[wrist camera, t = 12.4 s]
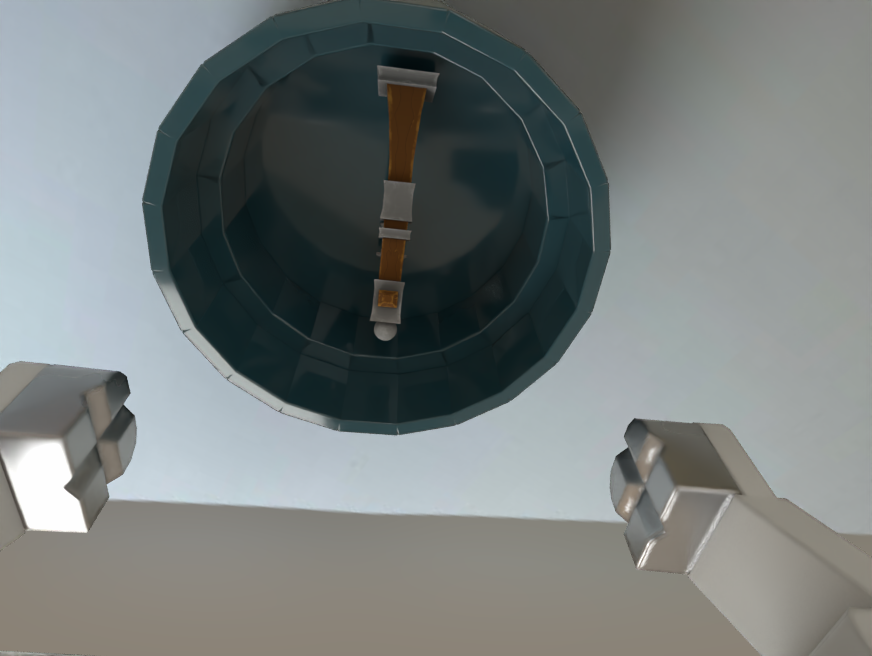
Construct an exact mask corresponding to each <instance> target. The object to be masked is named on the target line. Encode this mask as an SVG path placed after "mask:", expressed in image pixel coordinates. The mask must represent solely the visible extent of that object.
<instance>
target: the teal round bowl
mask: <svg viewBox="0 0 872 656" xmlns="http://www.w3.org/2000/svg"><path fill="white" fill-rule="evenodd" d="M377 65H378V66H386V67H393V68H401V69H409V70H416V71H424V72H432V73H440V74H439V77H438V81H437V84H436V86H437V88H436V91H435V94H434V98H433V101H432V102H425V101H424V103H423V108H422V112H421V118H420V124H419V130H418V136H417V142H416V148H415V154H414V161H413V171H412V182H411V183H415V188H414V192H413V202H412V223H408V227H407V230H409V231H411V233H410V240H409V241H406V242H405V250H404V255H407V256H406V258H404V259H403V266H402V274H401V282H405V285H404V288H403V294H402V303H401V313H400V322H401V324H396V323H395V324H396V326H397V332H396V335H395V336H394V337H393V338H392V339H391V340H388V341H384V340H381V339H379V338H378V337H377V336H376V335H375V332H374V326H375V324H376V322H377V321H370V318H371V314H372V307H373V297H374V288H375V287H374V279H378V280H379V271H380V261H381V257H379V256H378V255H376V253H377V252H380V253H381V249H382V238H379V237H378V236H379V233H380V230H379V227H380V228H382V227H381V223H384V221H383V220H380V217H381V213H382V209H383V199H384V180H387V181H388V174H389V112H388V100H387V97H385V96H379V95H378V71H377ZM142 201H143V203H142V206H143V213H144V220H145V227H146V235H147V242H148V249H149V256H150V263H151V270H152V271H153V275H154V277H155V279H156V281H157V283H158V285H159V287H160V289H161V291H162V293H163V295H164V297H165V299H166V301H167V303H168V305H169V307H170V309H171V311H172V313H173V315H174V317H175V319H176V321H177V323H178V326H179V328H180V330H181V331H183V334H184V335H185V336H186V337H187V338H188V339H189V340H190V341H191V342H192V343H193V345H194V346H195V347H196V348H197V349H198V350H199V351H200V352H201V353H202V354H203V355H204V356H205V357H206V358H207V359H208V361H209V362H210V363H211V364H212V365H213V366H214V367H215V368H216V369H217V370H218V371H219V372H220V373H221V374H222V376H223V377H224V378H227V380H228V381H230V382H231V383H233V384H234V385H236V386H238V387H239V388H241V389H242V390H244V391H246V392H247V393H249V394H251V395H252V396H254V397H255V398H257V399H259V400H260V401H262V402H263V403H265V404H267V405H268V406H270V407H271V408H273V409H275V410H276V411H278V412H279V411H280V413H283V414H286V415H289V416H292V417H295V418H298V419H301V420H305V421H308V422H311V423H314V424H317V425H320V426H323V427H327V428H330V429H333V430H336V431H337V430H338V431H342V432H356V433H370V434H385V435H402V434H408V433H414V432H420V431H426V430H432V429H438V428H443V427H449V426H455V425H456V424H457V425H458V424H460V423H463V422H465V421H467V420H469V419H472V418H474V417H476V416H478V415H481V414H483V413H485V412H487V411H490V410H492V409H494V408H497V407H499V406H501V405H503V404H506V403H508V402H509V401H510V400H513V399H514V398H515V397H516V396H518V395H519V394H520V393H521V392H523V391H524V390H525V389H526V388H528V387H529V386H530V385H531V384H532V383H534V382H535V381H536V380H537V379H539V378H540V377H541V376H542V375H544V374H545V373H546V372H547V371H549V370H550V369H551V368H552V367H553V366H555V365H556V363H558V362H559V360H560V359H561V357H562V356H563V354H564V353H565V351H566V350H567V349H568V347H569V346H570V344H571V343H572V341H573V340H574V338H575V337H576V336H577V334H578V333H579V331H580V330H581V328H582V327H583V325H584V324H585V323H586V321H587V320H588V318H589V317H590V315H591V312H592V311H593V308H594V305H595V301H596V298H597V295H598V292H599V288H600V285H601V282H602V278H603V275H604V272H605V269H606V265H607V262H608V259H609V255H610V250H611V236H610V207H609V183H608V179H607V176H606V174H605V171H604V169H603V166H602V164H601V161H600V158H599V156H598V153H597V151H596V148H595V146H594V143H593V141H592V138H591V136H590V133H589V131H588V128H587V126H586V123H585V121H584V118H583V116H582V114H581V113H580V111H579V109H578V108H577V107H576V106H575V104H574V103H573V102H572V101H571V100H570V99H569V98H568V96H567V95H566V94H565V93H564V92H563V91H562V90H561V89H560V87H559V86H558V85H557V84H556V83H555V82H554V81H553V80H552V78H551V77H550V76H549V75H548V74H547V73H546V72H545V71H544V69H543V68H542V67H541V66H540V65H539V64H538V63H537V62H536V60H535V59H534V58H533V57H532V56H531V55H530V54H529V53H528V52H527V51H525V49H523V48H522V47H520V46H518V45H517V44H515V43H514V42H512V41H510V40H509V39H507V38H505V37H504V36H502V35H500V34H499V33H497V32H496V31H494V30H492V29H490V28H488V27H487V26H485V25H483V24H481V23H479V22H477V21H476V20H474V19H472V18H470V17H468V16H466V15H464V14H463V13H461V12H459V11H457V10H455V9H453V8H451V7H450V6H448V5H446V4H444V3H442V2H439V1H437V0H333V1H328V2H324V3H319V4H315V5H311V6H307V7H303V8H299V9H295V10H291V11H287V12H284V13H280V14H276V15H274V16H272V17H269V18H268V19H266V20H265V21H263V22H262V23H260V24H259V25H257V26H256V27H254V28H253V29H251V30H250V31H249V32H247V33H246V34H244V35H243V36H241V37H240V38H238V39H237V40H235V41H234V42H232V43H231V44H229V45H228V46H226V47H225V48H223V49H222V50H220V51H219V52H217V53H216V54H214V55H213V56H212V57H210V58H209V59H207V60H206V61H204V63H203V64H201V65H200V67H199V68H198V70H197V71H196V73H195V74H194V76H193V77H192V78H191V80H190V81H189V83H188V84H187V86H186V87H185V89H184V90H183V92H182V93H181V95H180V96H179V98H178V99H177V101H176V102H175V104H174V105H173V107H172V108H171V110H170V111H169V113H168V114H167V116H166V117H165V119H164V120H163V122H162V123H161V124H160V126H159V130H158V131H157V134H156V139H155V143H154V148H153V153H152V157H151V162H150V166H149V171H148V175H147V180H146V185H145V189H144V194H143V198H142Z"/></svg>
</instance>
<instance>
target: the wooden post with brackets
mask: <svg viewBox="0 0 872 656" xmlns="http://www.w3.org/2000/svg"><path fill="white" fill-rule="evenodd" d="M377 71H378V95H379V96H385V97H387V100H388V112H389V174H388V181H387V180H384V199H383V209H382V213H381V217H380V220H383V221H384V223H381V227H382V228H380V227H379V230H380V233H379V236H378V237H379V238H382V249H381V253H380V252H377V253H376V255H378V256H379V257H381V261H380V271H379V280H378V279H374V287H375V288H374V297H373V307H372V314H371V318H370V321H377V322H376V324H375V326H374V332H375V335H376V336H377V337H378V338H379V339H381V340H384V341H388V340H391V339H392V338H393V337H394V336H395V335H396V332H397V326H396V324H401V322H400V313H401V303H402V294H403V288H404V285H405V282H401V274H402V266H403V259H404V258H406V256H407V255H404V250H405V242H406V241H409V240H410V233H411V231H409V230H407V227H408V223H412V202H413V192H414V188H415V183H411V182H412V171H413V161H414V154H415V148H416V142H417V136H418V130H419V124H420V118H421V112H422V108H423V103H424V101H425V102H432V101H433V98H434V94H435V91H436V88H437V86H436V84H437V81H438V77H439V74H440V73H432V72H424V71H416V70H409V69H401V68H393V67H386V66H378V65H377ZM395 323H396V324H395Z"/></svg>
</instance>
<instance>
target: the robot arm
mask: <svg viewBox="0 0 872 656" xmlns="http://www.w3.org/2000/svg"><path fill="white" fill-rule="evenodd" d="M129 395H130V389H129V385H128V380H127V376H125V375H124V374H123V373H121V372H119V371H110V370H101V369H92V368H83V367H74V366H65V365H56V364H54V365H50V364H43V363H34V362H24V361H19V362H15V363H11V364H9V365H8V366H7V367H6V368H5V369H3V370H2V371H1V372H0V551H1V550H3V549H4V548H5V547H7V546H8V545H10V544H11V543H12V542H14V541H15V540H17V539H18V538H20V537H21V536H22V535H24V534H25V530H38V531H61V532H88V531H89V530H90V528H91V526H92V525H93V523H94V521H95V520H96V518H97V516H98V515H99V513H100V512H101V510H102V508H103V507H104V505H105V503H106V502H107V500H108V498H109V493H108V489H107V484H108V483H110V482H111V481H113V480H115V479H116V478H118V477H120V476H121V475H123V473H124V472H125V470H126V468H127V466H128V465H129V463H130V461H131V458H132V455H133V451H134V448H135V444H136V433H137V427H136V421H135V416H134V415H133V414H132V413H131V412H130V411H129V410H128V409H127V408H126V407H125V406H124V405H123V404H124V402H125V401H126V399H127V398H128V396H129ZM624 438H625V441H626V443H627V445H628V448H627V449H625V450H624V451H622V452H621V453H620V454H618V455H617V456H616V457H615V460H614V463H613V466H612V469H611V474H610V493H611V499H612V502H613V505H614V508H615V511H616V513H618V514H619V515H620V516H621V517H622V518H623V519H624V520H625V521H626V522H628V526H627V528H626V530H625V533H624V536H625V539H626V542H627V544H628V547H629V550H630V552H631V555H632V558H633V561H634V563H635V566H636V569H637V570H647V571H657V572H668V573H678V574H689V576H688V578H689V579H690V580H691V581H692V582H693V583H694V584H695V585H696V586H697V587H698V588H699V589H700V590H701V592H702V593H703V594H704V595H705V596H706V597H707V598H708V599H709V600H710V601H711V602H712V603H713V604H714V605H715V607H717V609H718V610H719V611H720V612H721V613H722V614H723V615H724V616H725V617H726V618H727V619H728V620H729V622H731V624H732V625H733V626H734V627H735V628H736V629H737V630H738V631H739V632H740V633H741V634H742V635H743V637H745V639H746V640H747V641H748V642H749V643H750V644H751V645H752V646H753V647H754V648H755V649H756V650H757V652H759V654H760V655H761V656H872V557H871V556H870V555H868V554H867V553H866V552H864V551H863V550H861V549H860V548H858V547H857V546H855V545H854V544H852V543H851V542H849V541H848V540H846V539H845V538H843V537H842V536H840V535H839V534H838V533H836V532H835V531H833V530H832V529H830V528H829V527H827V526H826V525H824V524H823V523H821V522H820V521H818V520H817V519H815V518H814V517H813V516H811V515H810V514H808V513H807V512H805V511H804V510H802V509H801V508H799V507H798V506H796V505H795V504H793V503H792V502H790V501H789V500H787V499H784V498H777V497H776V496H775V494H774V493H773V491H772V490H771V488H770V487H769V486H768V484H767V483H766V481H765V480H764V478H763V477H762V475H761V474H760V472H759V471H758V469H757V468H756V466H755V465H754V464H753V462H752V461H751V459H750V458H749V456H748V455H747V453H746V452H745V450H744V449H743V447H742V446H741V444H740V443H739V442H738V440H737V439H736V437H735V436H734V434H733V433H732V431H731V430H730V429H729V428H727V427H726V426H724V425H723V424H710V423H694V422H693V423H683V422H672V421H660V420H648V419H636V418H634V419H633V421H632V422H631V423H630V424H629V425H628V427H627V430H626V432H625V435H624ZM0 656H93V655H71V654H53V653H33V652H13V651H0Z"/></svg>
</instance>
